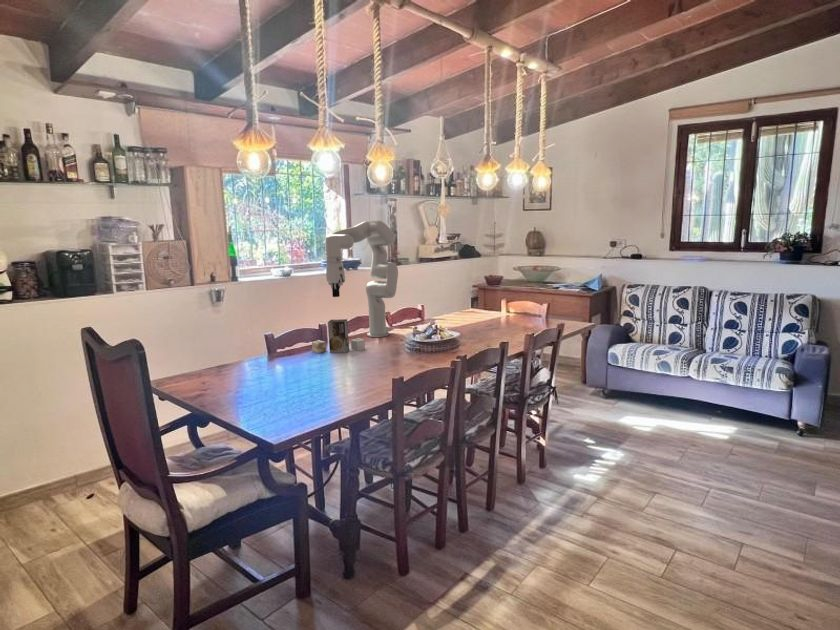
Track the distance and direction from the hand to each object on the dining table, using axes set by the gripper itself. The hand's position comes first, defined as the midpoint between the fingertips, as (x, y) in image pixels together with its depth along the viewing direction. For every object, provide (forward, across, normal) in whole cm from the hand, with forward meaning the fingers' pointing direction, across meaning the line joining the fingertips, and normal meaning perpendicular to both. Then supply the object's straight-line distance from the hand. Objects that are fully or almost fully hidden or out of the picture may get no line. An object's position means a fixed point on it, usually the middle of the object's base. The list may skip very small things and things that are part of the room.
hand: (336, 296), depth 270 cm
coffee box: (+29, 0, 0) cm, 29 cm away
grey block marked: (+28, -4, -10) cm, 30 cm away
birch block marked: (+28, +8, +6) cm, 30 cm away
